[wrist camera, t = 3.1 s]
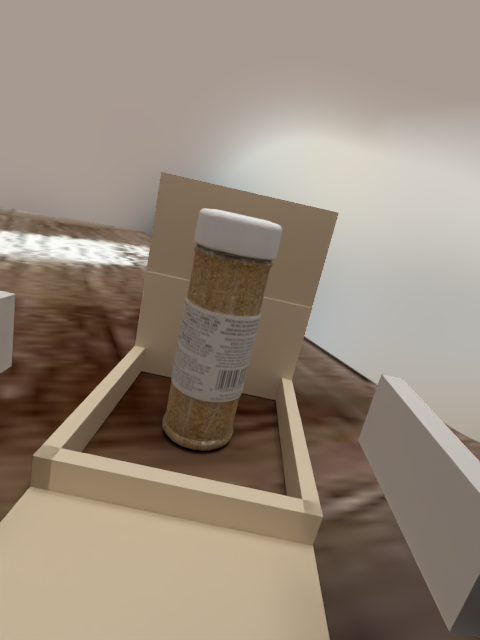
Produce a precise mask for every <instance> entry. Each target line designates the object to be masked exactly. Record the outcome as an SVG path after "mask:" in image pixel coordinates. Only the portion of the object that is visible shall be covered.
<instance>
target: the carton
mask: <svg viewBox="0 0 480 640" xmlns="http://www.w3.org/2000/svg"><path fill="white" fill-rule="evenodd" d="M204 208H207V209H217V210H222V211H227V212H231V213H236V214H240V215H245V216H249V217H254V218H258V219H263V220H267V221H270V222H272V223H275V224H278V225H280V226H281V228H282V234H281V239H280V244H279V248H278V253H277V257H276V258H275V259H273V260H272V261H271V262H272V263H273V266H272V267H271V268H270V272H269V275H268V280H267V284H266V289H265V292H264V298H263V302H262V307H261V311H260V312H261V316H260V321H259V325H258V329H257V333H256V338H255V342H254V346H253V350H252V354H251V358H250V363H249V367H248V371H247V375H246V379H245V383H244V387H243V391H242V393H244V394H249V395H253V396H258V397H263V398H267V399H272V400H276V407H277V416H278V425H279V433H280V442H281V450H282V459H283V468H284V476H285V485H286V494H287V496H284V495H280V494H275V493H270V492H265V491H261V490H256V489H251V488H247V487H242V486H237V485H232V484H228V483H223V482H218V481H213V480H209V479H204V478H199V477H195V476H190V475H185V474H180V473H176V472H171V471H166V470H162V469H157V468H152V467H147V466H143V465H138V464H133V463H129V462H124V461H119V460H114V459H110V458H105V457H100V456H96V455H91V454H86V453H81V452H82V451H83V450H84V448H85V447H86V446H87V444H88V443H89V442H90V440H91V439H92V437H93V436H94V435H95V433H96V432H97V431H98V429H99V428H100V427H101V425H102V424H103V423H104V421H105V420H106V418H107V417H108V416H109V414H110V413H111V412H112V410H113V409H114V408H115V406H116V405H117V404H118V402H119V401H120V399H121V398H122V397H123V395H124V394H125V393H126V391H127V390H128V389H129V387H130V386H131V385H132V383H133V382H134V381H135V379H136V378H137V376H138V375H139V374H140V372H141V371H143V372H148V373H152V374H157V375H162V376H166V377H171V376H172V371H173V365H174V359H175V354H176V348H177V342H178V337H179V331H180V326H181V321H182V315H183V310H184V304H185V298H186V295H187V294H188V287H189V283H190V279H191V273H192V267H193V263H194V261H193V260H194V256H195V250H194V247H195V246H196V245H197V244H196V242H195V241H194V236H195V231H196V225H197V220H198V216H199V212H200V210H201V209H204ZM337 216H338V213H337V212H332V211H328V210H324V209H319V208H315V207H311V206H306V205H302V204H298V203H293V202H289V201H285V200H280V199H276V198H272V197H267V196H263V195H258V194H254V193H250V192H246V191H241V190H237V189H232V188H227V187H223V186H219V185H215V184H210V183H206V182H202V181H198V180H193V179H189V178H184V177H180V176H176V175H172V174H167V173H163V172H162V173H161V179H160V185H159V192H158V198H157V205H156V212H155V218H154V225H153V232H152V238H151V245H150V252H149V258H148V265H147V271H146V276H145V283H144V289H143V296H142V303H141V309H140V316H139V323H138V329H137V336H136V343H135V346H134V348H133V349H132V350H131V351H130V352H129V353H128V354H127V355H126V356H125V357H124V358H123V359H122V360H121V361H120V363H119V364H118V365H117V366H116V367H115V368H114V369H113V370H112V371H111V372H110V373H109V374H108V375H107V376H106V378H105V379H104V380H103V381H102V382H101V383H100V384H99V385H98V386H97V387H96V388H95V389H94V390H93V391H92V393H91V394H90V395H89V396H88V397H87V398H86V399H85V400H84V401H83V402H82V403H81V404H80V405H79V407H78V408H77V409H76V410H75V411H74V412H73V413H72V414H71V415H70V416H69V417H68V418H67V419H66V420H65V422H64V423H63V424H62V425H61V426H60V427H59V428H58V429H57V430H56V431H55V432H54V433H53V434H52V435H51V437H50V438H49V439H48V440H47V441H46V442H45V443H44V444H43V445H42V446H41V447H40V448H39V449H38V450H37V452H36V453H35V454H34V455H33V458H32V471H31V485H30V488H29V489H28V490H27V491H26V492H25V494H24V495H23V496H22V497H21V498H20V500H19V501H18V502H17V503H16V504H15V506H14V507H13V508H12V509H11V510H10V512H9V513H8V514H7V515H6V516H5V518H4V519H3V520H2V521H1V522H0V640H330V639H329V634H328V628H327V622H326V617H325V611H324V605H323V600H322V594H321V589H320V583H319V577H318V572H317V566H316V560H315V555H314V549H313V544H314V541H315V538H316V535H317V532H318V530H319V527H320V524H321V521H322V518H323V515H322V511H321V507H320V502H319V498H318V493H317V489H316V485H315V480H314V476H313V472H312V467H311V463H310V458H309V454H308V450H307V445H306V441H305V437H304V432H303V428H302V423H301V419H300V415H299V410H298V406H297V401H296V397H295V393H294V388H293V384H292V377H293V374H294V370H295V366H296V363H297V359H298V356H299V352H300V349H301V345H302V342H303V338H304V335H305V331H306V327H307V324H308V320H309V317H310V313H311V310H312V305H313V302H314V298H315V294H316V291H317V287H318V284H319V280H320V277H321V273H322V269H323V266H324V263H325V259H326V255H327V252H328V248H329V244H330V241H331V238H332V234H333V231H334V227H335V223H336V220H337Z"/></svg>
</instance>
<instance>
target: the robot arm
mask: <svg viewBox="0 0 480 640" xmlns="http://www.w3.org/2000/svg"><path fill="white" fill-rule="evenodd" d="M14 306H15V294H13V293H8V292H4V291H0V373H1V372H3V371H4V370H6V369H8V368H9V367H11V364H12V344H13V325H14ZM359 443H360V445H361V447H362V449H363V451H364V453H365V455H366V457H367V459H368V462H369V464H370V466H371V468H372V470H373V472H374V474H375V476H376V478H377V480H378V483H379V485H380V487H381V489H382V491H383V493H384V495H385V497H386V499H387V502H388V504H389V506H390V508H391V510H392V512H393V514H394V516H395V518H396V521H397V523H398V525H399V527H400V529H401V531H402V533H403V535H404V537H405V540H406V542H407V544H408V546H409V548H410V550H411V552H412V554H413V556H414V558H415V561H416V563H417V565H418V567H419V569H420V571H421V573H422V575H423V577H424V580H425V582H426V584H427V586H428V588H429V590H430V592H431V594H432V596H433V599H434V601H435V603H436V605H437V607H438V609H439V611H440V613H441V615H442V618H443V620H444V622H445V624H446V626H447V628H448V630H449V632H452V633H457V634H462V635H467V636H472V637H477V638H480V461H478V459H477V458H476V457H475V456H474V455H473V454H472V453H471V452H470V451H469V450H468V449H467V448H466V447H465V445H464V444H463V443H462V442H461V441H460V440H459V439H458V438H457V437H456V436H455V435H454V434H453V433H452V431H451V430H450V429H449V428H448V427H447V426H446V425H445V424H444V423H443V422H442V421H441V420H440V419H439V417H438V416H437V415H436V414H435V413H434V412H433V411H432V410H431V409H430V408H429V407H428V406H427V405H426V404H425V402H424V401H423V400H422V399H421V398H420V397H419V396H418V395H417V394H416V393H415V392H414V391H413V389H412V388H410V386H409V385H408V384H407V383H406V382H405V381H404V380H403V379H402V378H397V377H392V376H388V375H383V374H382V375H381V378H380V381H379V383H378V386H377V389H376V392H375V395H374V397H373V400H372V403H371V406H370V409H369V412H368V414H367V417H366V420H365V423H364V426H363V429H362V431H361V434H360V437H359Z"/></svg>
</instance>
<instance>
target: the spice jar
mask: <svg viewBox="0 0 480 640" xmlns="http://www.w3.org/2000/svg"><path fill="white" fill-rule="evenodd" d="M281 234H282V228H281V226H280V225H278V224H275V223H272V222H270V221H267V220H263V219H258V218H254V217H249V216H245V215H240V214H236V213H231V212H227V211H222V210H217V209H207V208H204V209H201V210H200V212H199V216H198V220H197V225H196V231H195V236H194V241H195V242H196V244H197V245H196V246H195V247H194V250H195V256H194V260H193V261H194V263H193V267H192V273H191V279H190V283H189V287H188V294H187V295H186V298H185V304H184V310H183V315H182V321H181V326H180V331H179V337H178V342H177V348H176V354H175V359H174V365H173V371H172V376H171V380H172V382H171V387H170V393H169V399H168V404H167V409H166V413H165V415H164V418H163V425H162V427H163V430H164V431H165V433H166V435H167V436H168V437H169V438H170V439H171V440H172V441H174V442H175V443H177V444H178V445H180V446H183V447H187V448H190V449H193V450H202V451H207V450H212V449H216V448H219V447H222V446H224V445H225V444H226V443H228V442H229V441H230V439H231V436H232V434H233V422H234V418H235V413H236V409H237V405H238V401H239V397H240V395H241V394H242V391H243V387H244V383H245V379H246V375H247V371H248V367H249V363H250V358H251V354H252V350H253V346H254V342H255V338H256V333H257V329H258V325H259V321H260V316H261V312H260V311H261V307H262V302H263V298H264V292H265V289H266V284H267V280H268V275H269V272H270V268H271V267H272V266H273V263H272V262H271V261H272V260H273V259H275V258H276V257H277V253H278V248H279V244H280V239H281Z"/></svg>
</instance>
